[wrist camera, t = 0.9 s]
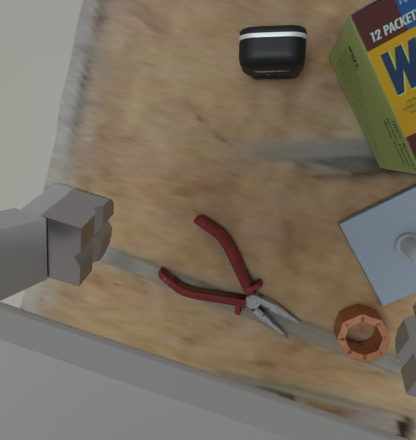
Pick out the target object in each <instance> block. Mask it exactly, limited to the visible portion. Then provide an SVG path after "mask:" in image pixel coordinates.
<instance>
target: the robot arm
mask: <svg viewBox="0 0 416 440" xmlns="http://www.w3.org/2000/svg"><path fill="white" fill-rule="evenodd" d="M113 209H114V203H113V201H112V199H109V198H106V197H103V196H100V195H97V194H94V193H91V192H88V191H85V190H82V189H79V188H75V187H72V186H69V185H66V184H62V183H55V184H54V185H52V186H51V187H50V188H49V189H47V190H46V191H45V192H43V193H42V194H41V195H39V196H38V197H37V198H35V199H34V200H33V201H31V202H30V203H29V204H27V205H26V206H25V207H24V208H22V209H21V210H19V209H16V208H14V209H8V210H4V211H0V301H1V300H3V299H5V298H7V297H9V296H12V295H14V294H16V293H18V292H20V291H22V290H24V289H27V288H29V287H31V286H33V285H35V284H37V283H39V282H42V281H44V280H46V279H47V277H49V278H52V279H56V280H59V281H62V282H66V283H69V284H73V285H76V286H80V285H81V284H82V282H83V281H84V280H85V278H86V277H87V276H88V275H89V273H90V272H91V271H92V263H93V262H95V261H98V260H100V259H101V258H102V256H103V255H104V254H105V252H106V249H107V247H108V245H109V242H110V238H111V233H112V227H111V225H110V223H109V221H108V220H109V218H110V217H111V216H112V215H113ZM413 309H414V314H415V315H413V316H411V317H408V318H406V319H404V320H403V322H402V323H401V325H400V326H399V328H398V331H397V335H396V338H395V348H396V352H397V356H398V357H399V358H400V359H401V360H402V361H403V363H404V364H405V365H404V366H403V367H402V369H401V374H402V378H403V382H404V386H405V390H406V394H409V395H412V396H415V397H416V303H415V305H414V306H413ZM0 440H409V439H406V438H403V437H400V436H397V435H394V434H391V433H388V432H385V431H382V430H379V429H376V428H373V427H370V426H367V425H364V424H362V423H359V422H356V421H353V420H350V419H347V418H344V417H341V416H338V415H335V414H332V413H329V412H326V411H323V410H320V409H317V408H314V407H311V406H308V405H305V404H302V403H299V402H296V401H293V400H290V399H287V398H284V397H281V396H278V395H275V394H272V393H270V392H267V391H264V390H261V389H258V388H255V387H252V386H249V385H246V384H243V383H240V382H237V381H234V380H231V379H228V378H225V377H222V376H219V375H216V374H213V373H210V372H207V371H204V370H201V369H198V368H195V367H192V366H189V365H186V364H183V363H180V362H177V361H174V360H171V359H168V358H165V357H162V356H160V355H157V354H154V353H151V352H148V351H145V350H142V349H139V348H136V347H133V346H130V345H127V344H124V343H121V342H118V341H115V340H112V339H109V338H106V337H103V336H100V335H97V334H94V333H91V332H88V331H85V330H82V329H79V328H76V327H73V326H70V325H67V324H64V323H61V322H58V321H55V320H52V319H49V318H46V317H43V316H40V315H37V314H34V313H31V312H29V311H26V310H23V309H20V308H17V307H14V306H11V305H8V304H5V303H2V302H0Z"/></svg>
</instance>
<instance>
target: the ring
mask: <svg viewBox="0 0 416 440" xmlns="http://www.w3.org/2000/svg"><path fill="white" fill-rule="evenodd" d="M361 322H365V323H368V324H371V325H374V326H377V327H376V329H375V332H374V334H373V337H372V338H370V339H367V340H365V341H362V342H357V341H354V340H351V339H348V338H347V337H346V335H347V333H348V330H349V327H351V326H354V325H356V324H359V323H361ZM334 331H335V334H336V338H337V341H338V342H339V344H340V346H341V348H342V350H343V352H344V353H345V355H346V356H347V357H350V358H353V359H356V360H359V361H362V362H369V361H371V360H374V359H376V358H379V357H382V356H384V355H385V353H386V350H387V348H388V345H389V343H390V340H391V336H390V334H389V333H388V331H387V329H386V327H385V325H384V323H383V321H382V320H381V318H380V316H379V315H378V313H377V311H376V310H375V309H372V308H369V307H365V306H362V305H359V304H355V305H353V306H351V307H348V308H346V309H344V310H342V311H340V312H339V314H338V317H337V320H336V322H335V325H334Z"/></svg>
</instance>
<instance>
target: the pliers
mask: <svg viewBox="0 0 416 440" xmlns="http://www.w3.org/2000/svg"><path fill="white" fill-rule="evenodd" d="M194 222H195V223H196V224H197V225H198V226H200V227H201V228H202V229H204V230H205V231H207V232H208V233H210V234H211V235H213V236H214V237H215V238H216V239H217V240H218V241H219V242H220V244H221V245H222V247H223V248H224V250H225V252H226V254H227V256H228V259H229V261H230V263H231V265H232V267H233V269H234V271H235V273H236V275H237V277H238V279H239V282H240V284H241V286H242V288H243V290H244V293H245V294H246V295H243V294H237V293H230V292H224V291H217V290H211V289H205V288H198V287H194V286H190V285H188V284H186V283H184V282H182V281H180V280H179V279H178V278H177V277H175V276H174V275H173V274H172V273H170V272H169V271H168V270H166V269H165V268H161V269H160V270H159V278H160V279H161V280H162V281H163V282H165V283H166V284H167V285H168V286H169V287H171V288H172V289H173V290H174V291H176V292H177V293H179V294H181V295H183V296H186V297H189V298H193V299H198V300H204V301H211V302H217V303H223V304H229V305H236V310H235V314H238V315H240V312H241V307H243V308H245V306H246V307H248V308H250V309H253V311H252V312H253V313H254V314H255V315H256V316H257V317H258V318H259V319H260V320H261V321H262V322H264V323H265V324H267V325H268V326H270V327H271V328H273V329H274V330H276V331H277V332H279V333H280V334H282V335H284V336H285V337H287V338H289V337H288V336H287V334H286V333H285V332H284V331H283V330H282V329H281V328H280V327H279V325H278V324H277V323H276V322H275V321H274V320H273V319H272V317H271V316H270V315H269V314H268V313H267V312H266V311H261V310H260V309H259V308H258V307H259V306H260V305H262V306H264V307H266V308H268V309H269V310H270V311H272V312H274V313H276V314H278V315H280V316H283V317H285V318H287V319H290V320H292V321H294V322H297V323H299V324H301V322H300V321H299V320H297V319H296V318H295V317H294V316H292V315H291V314H290V313H289V312H287V311H286V310H285V309H284V308H282V307H281V306H280V305H279V304H278V303H276V302H275V301H273V300H271V299H269V298H267V297H265V296H263V297H261V296H260V295H259V294H258V293H257V292H256V290H257V289H259V288H261V287H262V281H261V279H258V280H256V281H253V282H252V279H251V277H250V275H249V273H248V271H247V269H246V267H245V265H244V263H243V261H242V258H241V256H240V254H239V252H238V250H237V248H236V246H235V244H234V242H233V240H232V239H231V237H230V236H229V234H228V233H227V232H226V231H225V230H224V229H223V228H222V227H220V226H219V225H217V224H216V223H214V222H213V221H211V220H210V219H208V218H207V217H205V216H197V217H196V218H195V219H194Z"/></svg>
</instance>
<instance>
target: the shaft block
mask: <svg viewBox="0 0 416 440" xmlns="http://www.w3.org/2000/svg"><path fill="white" fill-rule="evenodd" d="M338 224H339V226H340V228H341V229H342V231H343V233H344V235H345V237H346V239H347V241H348V242H349V244H350V246H351V248H352V250H353V252H354V254H355V255H356V257H357V259H358V261H359V263H360V265H361V267H362V268H363V270H364V272H365V274H366V276H367V278H368V280H369V281H370V283H371V285H372V287H373V289H374V291H375V293H376V295H377V296H378V298H379V300H380V302H381V303H382V305H383V306H385V305H387V304H390V303H392V302H394V301H397V300H399V299H402V298H404V297H406V296H409V295H411V294H413V293H416V184H415V185H413V186H411V187H409V188H407V189H405V190H403V191H401V192H399V193H397V194H395V195H393V196H391V197H389V198H387V199H385V200H383V201H380V202H378V203H376V204H374V205H372V206H370V207H368V208H366V209H364V210H362V211H360V212H358V213H356V214H354V215H352V216H350V217H348V218H346V219H344V220H342V221H340V222H338Z"/></svg>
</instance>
